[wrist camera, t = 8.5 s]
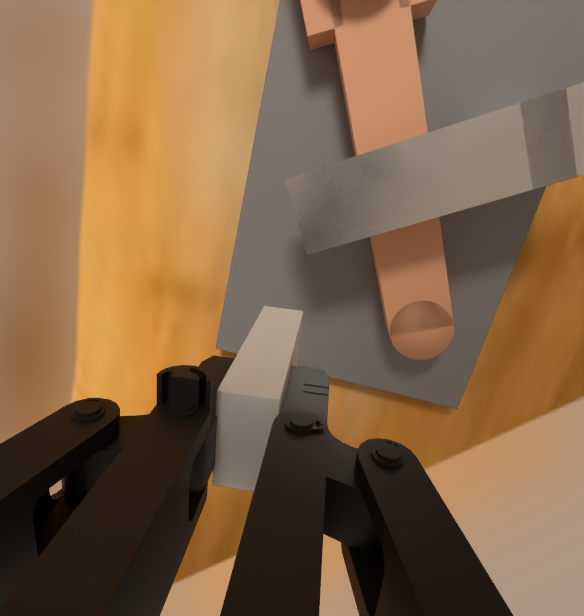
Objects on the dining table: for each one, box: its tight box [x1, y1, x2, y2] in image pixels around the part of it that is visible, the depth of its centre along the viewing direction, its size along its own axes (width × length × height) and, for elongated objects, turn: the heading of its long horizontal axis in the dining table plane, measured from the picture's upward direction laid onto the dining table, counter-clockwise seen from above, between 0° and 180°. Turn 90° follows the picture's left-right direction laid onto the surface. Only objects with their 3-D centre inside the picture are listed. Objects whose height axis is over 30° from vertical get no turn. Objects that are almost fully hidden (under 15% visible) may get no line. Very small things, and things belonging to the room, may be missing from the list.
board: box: [216, 0, 584, 409], centre depth 21 cm, size 26×14×1 cm, turn 167°
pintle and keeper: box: [285, 82, 584, 255], centre depth 17 cm, size 13×14×5 cm
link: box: [300, 0, 454, 360], centre depth 19 cm, size 20×5×2 cm, turn 13°
